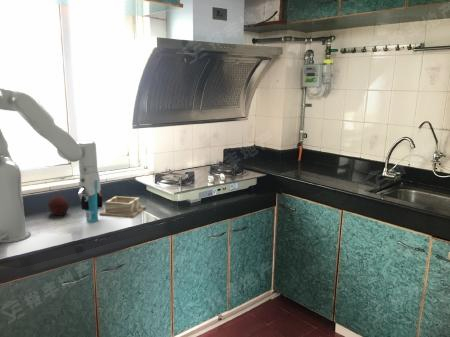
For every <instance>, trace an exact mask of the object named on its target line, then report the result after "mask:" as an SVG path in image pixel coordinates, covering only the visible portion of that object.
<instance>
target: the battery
mask: <svg viewBox="0 0 450 337" xmlns="http://www.w3.org/2000/svg"><path fill="white" fill-rule="evenodd" d="M99 208H103V194H102V189H101V190H100V203H97V209H99Z"/></svg>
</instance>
